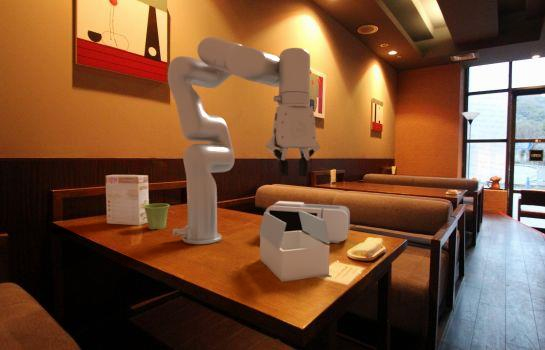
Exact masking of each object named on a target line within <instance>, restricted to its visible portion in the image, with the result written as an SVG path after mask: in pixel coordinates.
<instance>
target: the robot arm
mask: <svg viewBox="0 0 545 350" xmlns="http://www.w3.org/2000/svg"><path fill="white" fill-rule="evenodd" d="M197 54H198V57H199V59H198V58H196V57H190V56H184V55H183V56H181V55H180V56H176V57H174V58H173V59H172V60H171V61H170V62H169V65H168V70H167V82H168V87H169V89H170V92H171V95H172V97H173V99H174V101H175V104H176V110H177V114H178V119H179V123H180V128H181V132H182V135H183V137H184V139H186V140H187V141H189V142H193V143H194V142H195V143H194V144H191V145H188V146H187V147H186V149H184V152H183V156H182V157H183V165H184V171H185V177H186V194H187V195H186V196H187V197H186V198H187V201H186V202H187V208H186V211H187V215H186V216H187V224H186V225H185V227H182V228H173V229H172V236H178V237H179V236H182V241H183V242H184V243H185V244H186V243H187V244H189V245H208V244H214V243H217V242H219V241H221V240H222V236H223V235H222V234H221V233H219V232H218V204H217V203H218V202H217V201H218V196H217V195H218V192H217V191H218V190H217V183H216V180H215V178H214V176H213V175H212V173H225V172H228V171H230V170H231V169H233V167H234V164H235V151H234V147H233V144H232V140H231V139H232V138H231V134H230V131H229V127H228V124H227V122H226V120H224V119H223V118H222V117H221V116H219V115H216V114H208V113H206V111H205V108H204V105H203V101H202V98H201V96H200V95H199V93H198V92H197V91H196V90H195V89H194V87H193V86H196V87H201V88H207V89H214V88H217V87H219V86H221V85H223V83H224V82H225V81H227V80H228V79H229V78H230V77H232V76H235V77H238V78H241V79H243V80H247V81H250V82H252V83H253V82H254V83H258V84H261V85H266V86H270V87H274V88H278V95H273V102H276V103H277V106H276V109H275V113H274V119H273V127H272V128H273V129H272V136H271V138H270V139H269V141H268V142H267V144H266V145H265V148H266V149H267V150H269V152H270V153H272V154H273V155H274V156H275V157H276V158H277V160H278V172H279V174H280V177H284V178H286V177H288V176H289V161H288V160H287V156H288V151H289V149H298V150H299V156H300V159H298V176H300V177H307V173H308V166H309V165H308V162H309V161H310V159H311V157H312V156H313V155H314V153H316V152H317V151H319V150H320V149H321V146H320V144H319V142H318V141H317V131H316V119H315V114H314V108H313V107H312V106H311V107H310V102H311V101H310V99H311V98H310V97H311V96H310V92H311V91H310V90H311V88H310V87H311V82H310V81H311V55H310V52H309V51H308V50H307V49H305V48H301V47H290V48H286V49H283V50H282V51H281V52H280V54H279V55H275V54H272V53H270V52H266V51H264V50H260V49H257V48H254V47H251V46H250V47H249V46H245V45H243V44H240V43H238V42H233V41H229V40H226V39H221V38H220V37H219V38H218V37H215V36H214V37H213V36H210V37H205V38H203V39H201V41H200V42H199V43H198V46H197Z"/></svg>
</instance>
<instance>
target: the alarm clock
mask: <svg viewBox="0 0 545 350" xmlns="http://www.w3.org/2000/svg"><path fill="white" fill-rule="evenodd" d="M298 210H301V211H304V212H306V213H309V214H311V215H314V216H316V217H319V218H321V219H324V220H325V223H326V227H327V232H328V236H329V240H330V243H333V244H340V242H343V241H346V239H347V238H348V236H349V232H350V229H351V227H350V225H351V221H350V220H351V212H350V209H349V207H348V206H345V205H334V204H332V205H331V204H319V203H318V204H315V203H305V202H304V201H303V202H302V201H285V200H278V201H277V202H275V203H274V204H271V205H270V206H268V207H267V208H266V209H265V212H266V213H268V214H270V215H272V216H274V217H276V218H277V219H279V220H281V221H283V222H285V223H286V227H285V231H284V232H289V231H302V232H304V233H306V234H308V235H310V234H309V233H307V232H305V231H303V229H302V225H301V220H300V216H299V212H298ZM310 236H312V235H310ZM312 237H313V238H315V239H317V240H319V241H321V242H323V243H325V242H324V241H322V240H320V239H318V238H316V237H314V236H312Z"/></svg>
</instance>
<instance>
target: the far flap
mask: <svg viewBox="0 0 545 350" xmlns="http://www.w3.org/2000/svg"><path fill="white" fill-rule="evenodd" d="M298 212H299V216H300V220H301V225H302V229H303V231H305V232H307V233H309V234H310V235H312V236H314V237H316V238H318V239H320V240H322V241H324V242H323V243H325V244H326V245H329V244H331V242H330V240H329V236H328V232H327V227H326V223H325V220H324V219H321V218H319V217H316V216H314V215H311V214H309V213H306V212H304V211H301V210H298Z"/></svg>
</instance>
